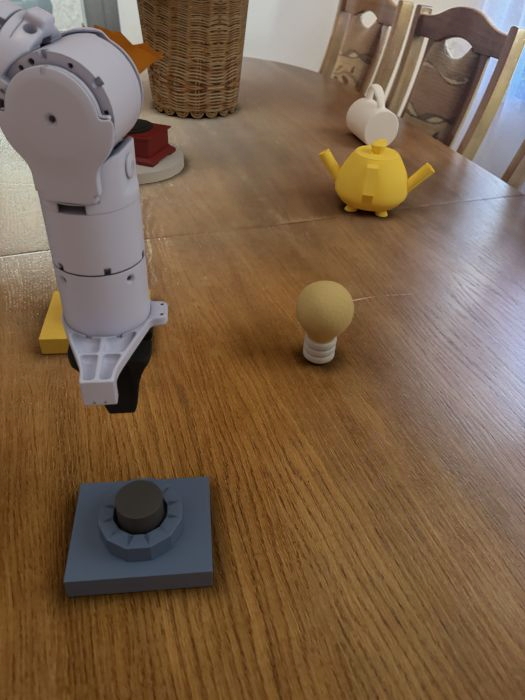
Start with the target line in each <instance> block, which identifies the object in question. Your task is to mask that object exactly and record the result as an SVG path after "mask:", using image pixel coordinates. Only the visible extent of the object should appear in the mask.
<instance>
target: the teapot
mask: <svg viewBox="0 0 525 700" xmlns="http://www.w3.org/2000/svg"><path fill="white" fill-rule="evenodd" d="M387 141H388V140H385V139H378V140H377V141H374V142H372V143H371V145H366V144H365V145H361V146H358V147H357V148H355V149H354V150H353V151H352V152H351V154H349V156H348V157H347V158H346V160H344V162H343V163H342V165H341V166H340V165H339V164H338V162H337V160H336V158H335V157H334V155H333V153H332V152H331V150H330V148H329V147H328V148H326V149H324V150H322V151H321V152H320V153H318V157H319V159H320V161H321V162H322V163H323V165H324V167H325V168H326V170H327V171H328V173H329V175H330V177H331V178H332V179H333V181H334V189H335V192H336V195H338V197H339V198H340V200H341V201H342V202H343V203H344V204H345V207H344V210H345V211H346V212H351V213H353V212H354V213H355V212H357V211H358V210H362V211H368V212H374V215H375V216H377V217H380V218H381V217H382V218H386V217H388V211H391V210H393V209H395V208H396V207H398V206H400V205H401V203H403V202H404V201H405V200H406V199H407V196H408V194H409V193H410V192H411V191H413V190H414V189H415V188H416V187H418V186H419V185H420V184H422V183H423V182H424V181H425V180H427V179H428V178H429V177H430V176H432V175H433V174H434V173H436V172H435V169H434V168H433V166H432V165H431V164H430V163H428V162H426V163H424V164H423V165H422V166H421V167H420V168H419V169H418V170H416V171H415V172H414V173H413V174H411V176H409V177H408V172H407V169H406V167H405V163H404V161H403V159H402V156H401V155H400V153H399V152H398V151H397V150H395V149H393V148H391V147H388V146H387Z"/></svg>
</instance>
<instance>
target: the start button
mask: <svg viewBox="0 0 525 700" xmlns="http://www.w3.org/2000/svg"><path fill="white" fill-rule="evenodd" d="M115 507H116V512H117V518H118V522H119V524H120V526H121V527H122V528H123V529H124V530H125V531H127V532H129V533H132V534H144V533H147V532H150V531H152V530H153V529H155V528H156V527H157V526H158V525H159V524H160V523H161V521H162V519H163V516H164V506H163V497H162V492H161V490H160V488H159V487H158V486H157V485H156V484H154V483H153V482H150V481H146V480H137V481H133V482H130V483H128V484H126V485H125V486H123V487H122V488H121V489H120V490H119V492H118V493H117V495H116V498H115Z"/></svg>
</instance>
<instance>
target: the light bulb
mask: <svg viewBox="0 0 525 700" xmlns="http://www.w3.org/2000/svg"><path fill="white" fill-rule="evenodd" d="M295 306H296V307H295V314H296V318H297V320H298V323H299V325H300V326H301V329H303V330H304V332H305V334H304V337H303V338H304V339H303V347H302V355H303V356H304V358H305V359H306V360H307V361H309V362H311V363H313V364H317V365H322V364H326V363H330V362H331V361H332V360H333V359H334V357H335V353H336V352H335V351H336V348H337V343H338V342H337V341H338V336H340V335H341V334H342V333H343V332H345V331H346V330H347V329H348V327H349V326H350V324H351V323H352V321H353V318H354V314H355V304H354V299H353V297H352V295H351V294H350V292H349V290H347V289H346V287H345V286H343V284H340V282H339V283H338V282H337V281H334V280H318V281H314V282H312V283H310V284H308V285H306V286H305V287H304V288H302V290H301V291H300V293H299V295H298V297H297V301H296V304H295Z"/></svg>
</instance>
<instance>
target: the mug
mask: <svg viewBox="0 0 525 700" xmlns="http://www.w3.org/2000/svg"><path fill="white" fill-rule="evenodd" d="M374 96H375V99H373V98H374ZM345 123H346V127H347V128H348V130H349V131H350V132H351V133H352V134H353V135H354V136H355V137H357V138H358V140H360V141H361V142H362V143H364V144H365V145H371V143H372V142H374V141H377V140H378V139H385V140H388V141H387V147H388V146H389V145H391V144H392V143H393V141H394V140H395V139H396V137H397V135H398V132H399V127H400V125H399V123H400V122H399V119H398V117H397V115H396V114H395V113H394V112H392V110H390V109H388V108H387V107H386V98H385V92H384V89H383V87H382V86H381V85H380V84H378V83H371V84H370V85H369V86H368V88H367V89H366V94H365V97H361V98H359V99H356V100H355V101H354V102H353V103H352V104H351V105H350V106H349V108H348V109H347V113H346V116H345Z"/></svg>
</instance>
